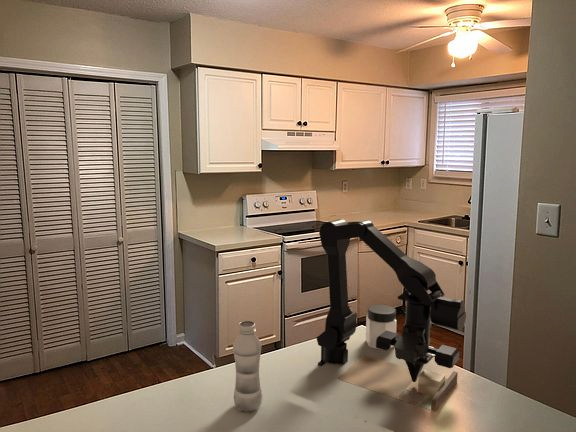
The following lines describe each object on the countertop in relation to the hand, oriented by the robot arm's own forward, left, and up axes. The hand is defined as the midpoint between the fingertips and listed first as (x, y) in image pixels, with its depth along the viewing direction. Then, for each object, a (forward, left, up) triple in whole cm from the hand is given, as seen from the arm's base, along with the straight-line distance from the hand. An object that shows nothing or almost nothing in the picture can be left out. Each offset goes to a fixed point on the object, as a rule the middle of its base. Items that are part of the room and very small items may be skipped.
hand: (414, 381), depth 114 cm
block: (+4, 0, -1) cm, 4 cm away
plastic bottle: (-28, -29, -3) cm, 40 cm away
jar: (-17, +18, -3) cm, 25 cm away
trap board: (-5, 0, -3) cm, 5 cm away
